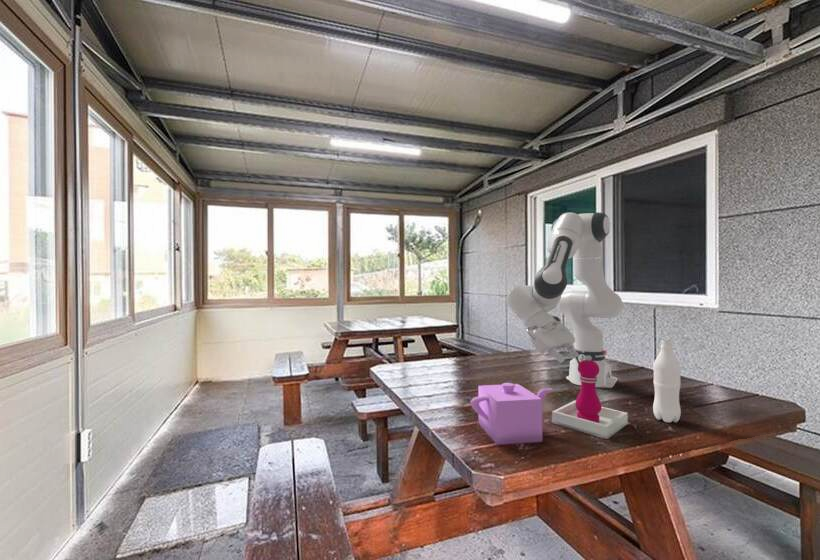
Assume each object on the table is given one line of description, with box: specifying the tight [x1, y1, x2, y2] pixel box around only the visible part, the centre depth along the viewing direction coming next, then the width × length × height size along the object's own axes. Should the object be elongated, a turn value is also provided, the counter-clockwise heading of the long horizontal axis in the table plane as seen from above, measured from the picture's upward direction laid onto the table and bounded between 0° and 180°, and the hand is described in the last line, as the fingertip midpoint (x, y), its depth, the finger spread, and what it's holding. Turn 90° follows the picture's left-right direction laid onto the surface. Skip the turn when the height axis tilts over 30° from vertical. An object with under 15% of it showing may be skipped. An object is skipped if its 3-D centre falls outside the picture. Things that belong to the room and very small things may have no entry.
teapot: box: [470, 382, 553, 446], centre depth 109 cm, size 15×25×14 cm, turn 99°
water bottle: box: [652, 339, 682, 424], centre depth 118 cm, size 7×7×25 cm
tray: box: [551, 399, 628, 440], centre depth 115 cm, size 16×16×4 cm
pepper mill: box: [575, 355, 602, 423], centre depth 116 cm, size 7×7×20 cm
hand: (569, 359), depth 120 cm, fingers open, 8 cm apart
